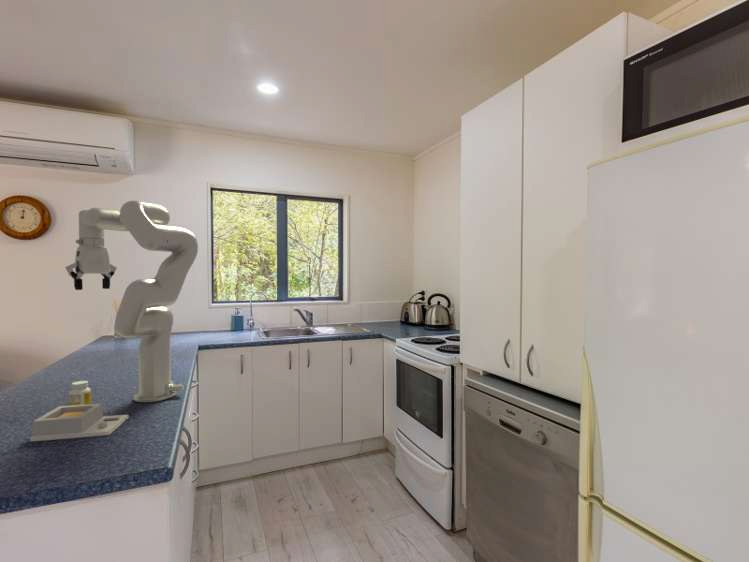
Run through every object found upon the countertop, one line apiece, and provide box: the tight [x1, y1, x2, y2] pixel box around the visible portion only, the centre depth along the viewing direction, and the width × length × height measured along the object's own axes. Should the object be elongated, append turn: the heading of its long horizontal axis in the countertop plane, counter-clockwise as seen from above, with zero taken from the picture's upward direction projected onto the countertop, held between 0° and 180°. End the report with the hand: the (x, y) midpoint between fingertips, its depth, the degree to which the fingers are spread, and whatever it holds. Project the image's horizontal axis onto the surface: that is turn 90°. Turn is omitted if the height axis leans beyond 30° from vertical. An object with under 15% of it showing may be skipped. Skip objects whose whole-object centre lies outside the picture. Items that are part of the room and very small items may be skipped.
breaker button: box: [57, 411, 85, 418], centre depth 103 cm, size 5×5×2 cm
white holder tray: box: [29, 403, 129, 442], centre depth 104 cm, size 18×12×5 cm, turn 102°
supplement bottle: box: [68, 380, 92, 406], centre depth 115 cm, size 5×5×10 cm
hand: (92, 289), depth 141 cm, fingers open, 9 cm apart
